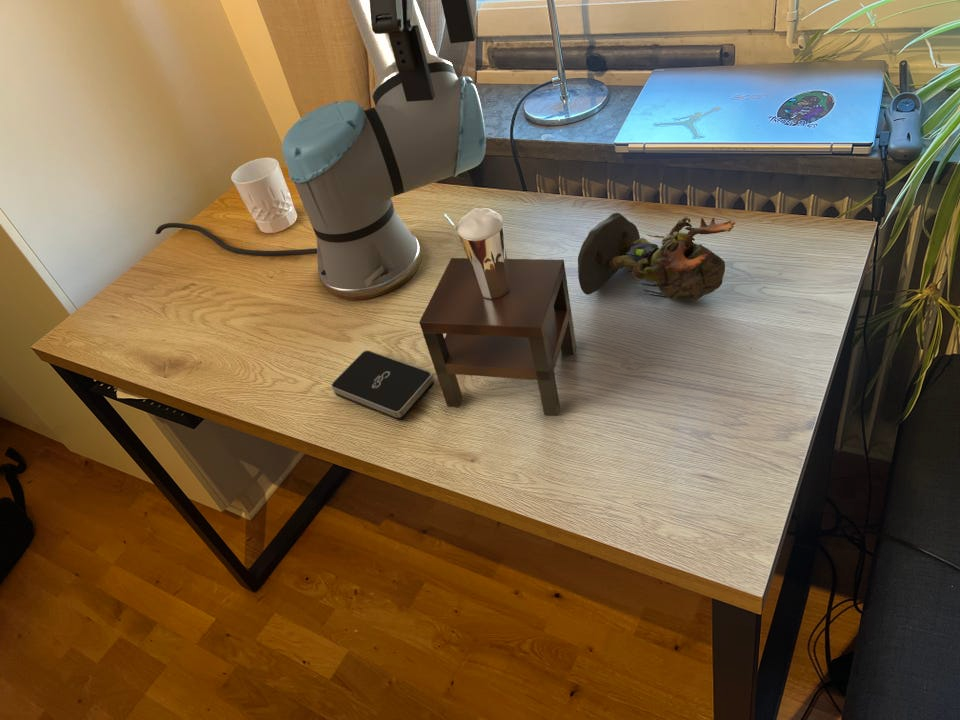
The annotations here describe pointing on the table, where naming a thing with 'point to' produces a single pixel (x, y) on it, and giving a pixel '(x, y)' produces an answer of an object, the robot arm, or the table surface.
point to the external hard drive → (383, 384)
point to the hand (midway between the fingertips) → (443, 68)
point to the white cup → (265, 194)
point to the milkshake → (485, 250)
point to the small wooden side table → (501, 327)
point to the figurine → (652, 258)
